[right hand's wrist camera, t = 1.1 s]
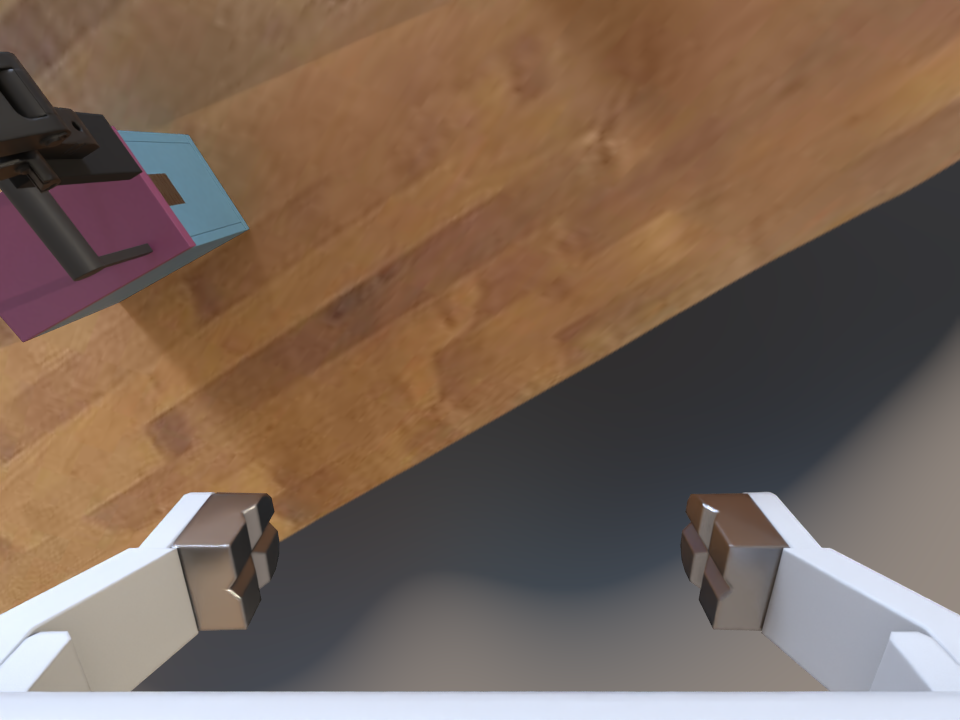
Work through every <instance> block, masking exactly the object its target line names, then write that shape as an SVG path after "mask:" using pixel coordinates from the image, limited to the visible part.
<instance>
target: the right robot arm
mask: <svg viewBox="0 0 960 720" xmlns="http://www.w3.org/2000/svg"><path fill="white" fill-rule="evenodd" d="M273 513H274V508H273V503H272V498H271V497H270V496H269V495H268V494H267V493H221V492H217V493H214V492H191V493H188V494H185V495H184V496H183V497H182V498H181V499H180V500H179V502H178V503H177V504H176V505H175V506H174V507H173V508H172V510H171V511H170V512H169V513H168V514H167V515H166V517H165V518H164V519H163V520H162V521H161V522H160V523H159V525H158V526H157V527H156V528H155V529H154V530H153V531H152V533H151V534H150V535H149V536H148V537H147V538H146V540H145V541H144V542H143V543H142V544H141V545H140V546H139V548H129V549H127V550H125V551H123V552H121V553H119V554H117V555H115V556H113V557H111V558H110V559H108V560H106V561H104V562H102V563H100V564H98V565H96V566H94V567H92V568H90V569H88V570H86V571H84V572H82V573H80V574H78V575H77V576H75V577H73V578H71V579H69V580H67V581H65V582H63V583H61V584H59V585H57V586H55V587H53V588H51V589H49V590H47V591H45V592H44V593H42V594H40V595H38V596H36V597H34V598H32V599H30V600H28V601H26V602H24V603H22V604H20V605H18V606H16V607H14V608H13V609H11V610H9V611H7V612H5V613H3V614H1V615H0V720H960V615H959V614H957V613H955V612H953V611H951V610H949V609H947V608H945V607H943V606H941V605H939V604H937V603H936V602H934V601H932V600H930V599H928V598H926V597H924V596H922V595H920V594H918V593H916V592H914V591H912V590H910V589H908V588H907V587H905V586H903V585H901V584H899V583H897V582H895V581H893V580H891V579H889V578H887V577H885V576H883V575H881V574H879V573H877V572H876V571H874V570H872V569H870V568H868V567H866V566H864V565H862V564H860V563H858V562H856V561H854V560H852V559H850V558H848V557H847V556H845V555H843V554H841V553H839V552H837V551H835V550H833V549H831V548H821V546H820V545H819V544H818V543H817V542H816V541H815V540H814V538H813V537H812V536H811V535H810V534H809V533H808V532H807V530H806V529H805V528H804V527H803V526H802V525H801V523H800V522H799V521H798V520H797V519H796V518H795V517H794V515H793V514H792V513H791V512H790V511H789V510H788V509H787V507H786V506H785V505H784V504H783V503H782V502H781V500H780V499H779V498H778V497H777V496H776V495H775V494H772V493H770V492H754V493H742V494H691V495H690V497H689V499H688V502H687V507H686V513H687V515H688V517H689V519H690V521H691V523H690V524H689V525H688V526H687V527H686V528H685V529H684V530H683V531H682V538H681V557H682V562H683V566H684V569H685V572H686V574H687V576H688V578H689V581H690V582H692V583H693V584H695V585H696V586H697V587H699V588H700V589H701V590H700V596H699V601H700V603H701V605H702V607H703V609H704V611H705V613H706V615H707V617H708V619H709V621H710V623H711V625H712V627H713V629H721V630H756V631H762V634H763V635H764V636H766V637H767V638H768V639H769V640H770V641H771V642H773V643H774V644H775V645H776V646H777V647H778V648H780V649H781V650H782V651H783V652H784V653H785V654H787V655H788V656H789V657H790V658H791V659H792V660H794V661H795V662H796V663H797V664H798V665H799V666H801V667H802V668H803V669H804V670H805V671H806V672H808V673H809V674H810V675H811V676H812V677H813V678H815V679H816V680H817V681H818V682H819V683H820V684H822V685H823V686H824V687H825V688H826V689H828V690H829V691H808V692H807V691H806V692H594V691H592V692H591V691H590V692H589V691H588V692H587V691H586V692H584V691H583V692H582V691H516V692H515V691H514V692H513V691H508V692H507V691H502V692H500V691H499V692H498V691H497V692H496V691H495V692H130V691H131V690H133V689H134V688H135V687H136V686H137V685H139V684H140V683H141V682H142V681H143V680H144V679H146V678H147V677H148V676H149V675H150V674H151V673H153V672H154V671H155V670H156V669H157V668H158V667H160V666H161V665H162V664H163V663H164V662H165V661H167V660H168V659H169V658H170V657H171V656H172V655H174V654H175V653H176V652H177V651H178V650H179V649H181V648H182V647H183V646H184V645H185V644H186V643H188V642H189V641H190V640H191V639H192V638H193V637H195V636H196V635H197V634H198V631H204V630H237V629H247V627H248V625H249V623H250V621H251V619H252V617H253V615H254V613H255V611H256V609H257V607H258V605H259V603H260V601H261V596H260V590H259V589H260V588H261V587H263V586H264V585H265V584H267V583H268V582H270V581H271V578H272V576H273V574H274V572H275V570H276V566H277V561H278V557H279V537H278V531H277V530H276V529H275V528H274V527H273V526H272V525H271V524H270V523H269V521H270V519H271V517H272V515H273Z"/></svg>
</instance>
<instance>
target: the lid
mask: <svg viewBox="0 0 960 720" xmlns="http://www.w3.org/2000/svg"><path fill="white" fill-rule="evenodd" d="M111 128H112V129H113V130H114V132H115V133H116V135H117V136H118V137H119V139H120V140H121V142H122V143H123V145H124V146H125V147H126V149H127V150H128V152H129V153H130V154H131V156H132V157H133V159H134V160H135V162H136V163H137V164H138V166H139V167H140V169H141V170H142V171H143V172H142V173H140V174H139V175H137V176H135V177H134V178H132V179H131V180H121V181H108V182H96V183H83V184H71V185H58V186H56V187H54V188H52V189H50V190H48V191H46V192H43V193H40V191H39V190H38V189H37V188H36V187H33V188H20V189H17V188H16V187H15V186H14V185H13V183H12V182H11V181H10V180H9V178H8V179H5V180H2V181H0V189H1V190H2V192H1V193H0V316H1V318H2V319H3V320H4V321H5V322H6V323H7V324H8V326H9V327H10V328H11V329H12V330H13V331H14V333H15V334H16V335H17V336H18V337H19V338H20V339H21V341H22V342H25V341H28V340H30V339H33V338H34V337H36V336H38V335H40V334H41V333H43V332H45V331H47V330H48V329H50V328H52V327H54V326H55V325H57V324H59V323H61V322H62V321H64V320H66V319H68V318H69V317H71V316H73V315H75V314H77V313H78V312H80V311H82V310H84V309H85V308H87V307H89V306H91V305H92V304H94V303H96V302H98V301H99V300H101V299H103V298H105V297H106V296H108V295H110V294H112V293H113V292H115V291H117V290H119V289H121V288H122V287H124V286H126V285H128V284H129V283H131V282H133V281H135V280H136V279H138V278H140V277H142V276H143V275H145V274H147V273H149V272H150V271H152V270H154V269H156V268H158V267H159V266H161V265H163V264H165V263H166V262H168V261H170V260H172V259H173V258H175V257H177V256H179V255H180V254H182V253H184V252H186V251H187V250H189V249H191V248H193V247H194V246H196V244H195V242H194V241H193V239H192V238H191V237H190V235H189V234H188V232H187V231H186V229H185V228H184V226H183V225H182V224H181V222H180V221H179V219H178V218H177V216H176V215H175V213H174V212H173V211H172V209H171V208H170V206H169V205H168V203H167V202H166V201H165V199H164V198H163V196H162V195H161V193H160V192H159V190H158V189H157V188H156V186H155V185H154V183H153V182H152V180H151V179H150V177H149V176H148V175H147V173H146V172H145V170H144V169H143V167H142V166H141V164H140V163H139V162H138V160H137V159H136V157H135V156H134V154H133V153H132V151H131V150H130V149H129V147H128V146H127V144H126V143H125V141H124V140H123V139H122V137H121V136H120V134H119V133H118V131H117V130H116V128H115V127H114V126H111Z"/></svg>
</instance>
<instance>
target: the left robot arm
mask: <svg viewBox="0 0 960 720" xmlns="http://www.w3.org/2000/svg"><path fill="white" fill-rule="evenodd" d="M142 172H143V171H142V170H141V169H140V167H139V166H138V164H137V163H136V162H135V160H134V159H133V157H132V156H131V154H130V153H129V152H128V150H127V149H126V147H125V146H124V145H123V143H122V142H121V140H120V139H119V137H118V136H117V135H116V133H115V132H114V130H113V129H112V128H111V126H110V125H109V123H108V122H107V120H106V119H105V118H104V116H103V115H100V114H90V113H80V112H74V111H72V110H71V109H67V108H57V107H53V106H52V105H51V103H50V102H49V101H48V99H47V98H46V97H45V95H44V94H43V93H42V91H41V90H40V88H39V87H38V86H37V84H36V83H35V82H34V80H33V79H32V78H31V76H30V75H29V73H28V72H27V71H26V70H25V68H24V67H23V66H22V64H21V63H20V61H19V60H18V59H17V57H16V56H15V55H14V54H13V53H10V52H0V181H2V180H5V179H8V178H9V180H10V181H11V182H12V183H13V185H14V186H15V187H16V188H17V189H20V188H33V187H36V188H37V189H38V190H39V191H40V193H43V192H46V191H48V190H50V189H52V188H54V187H56V186H58V185H71V184H83V183H96V182H108V181H121V180H131V179H132V178H134V177H135V176H137V175H139V174H140V173H142Z"/></svg>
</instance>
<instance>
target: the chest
mask: <svg viewBox="0 0 960 720" xmlns="http://www.w3.org/2000/svg"><path fill="white" fill-rule="evenodd" d="M117 131H118V133H119V134H120V136H121V137H122V139H123V140H124V141H125V143H126V144H127V146H128V147H129V149H130V150H131V151H132V153H133V154H134V156H135V157H136V159H137V160H138V162H139V163H140V164H141V166H142V167H143V169H144V170H145V172H146V173H147V175H148V176H149V177H150V179H151V180H152V182H153V183H154V185H155V186H156V188H157V189H158V190H159V192H160V193H161V195H162V196H163V198H164V199H165V201H166V202H167V203H168V205H169V206H170V208H171V209H172V211H173V212H174V213H175V215H176V216H177V218H178V219H179V221H180V222H181V224H182V225H183V226H184V228H185V229H186V231H187V232H188V234H189V235H190V237H191V238H192V239H193V241H194V242H195V244H196V246H194V247H193V248H191V249H189V250H187V251H186V252H184V253H182V254H180V255H179V256H177V257H175V258H173V259H172V260H170V261H168V262H166V263H165V264H163V265H161V266H159V267H158V268H156V269H154V270H152V271H150V272H149V273H147V274H145V275H143V276H142V277H140V278H138V279H136V280H135V281H133V282H131V283H129V284H128V285H126V286H124V287H122V288H121V289H119V290H117V291H115V292H113V293H112V294H110V295H108V296H106V297H105V298H103V299H101V300H99V301H98V302H96V303H94V304H92V305H91V306H89V307H87V308H85V309H84V310H82V311H80V312H78V313H77V314H75V315H73V316H71V317H69V318H68V319H66V320H64V321H62V322H61V323H59V324H57V325H55V326H54V327H52V328H50V329H48V330H47V331H45V332H43V333H41V334H40V335H42V334H45V333H47V332H49V331H52V330H54V329H57V328H59V327H61V326H64V325H66V324H69V323H71V322H73V321H76V320H78V319H81V318H83V317H85V316H88V315H90V314H93V313H95V312H97V311H100V310H102V309H105V308H107V307H109V306H112V305H114V304H117V303H119V302H121V301H122V300H124V299H126V298H128V297H130V296H131V295H133V294H135V293H137V292H138V291H140V290H142V289H144V288H146V287H147V286H149V285H151V284H153V283H154V282H156V281H158V280H160V279H162V278H163V277H165V276H167V275H169V274H170V273H172V272H174V271H176V270H178V269H179V268H181V267H183V266H185V265H186V264H188V263H190V262H192V261H193V260H195V259H197V258H199V257H201V256H202V255H204V254H206V253H208V252H209V251H211V250H213V249H215V248H217V247H218V246H220V245H222V244H224V243H225V242H227V241H229V240H231V239H233V238H234V237H236V236H238V235H240V234H241V233H243V232H245V231H247V230H249V227H248V226H247V224H246V222H245V221H244V219H243V218H242V216H241V215H240V213H239V212H238V210H237V209H236V207H235V206H234V204H233V203H232V201H231V199H230V198H229V196H228V195H227V193H226V192H225V190H224V189H223V187H222V186H221V184H220V183H219V181H218V179H217V178H216V176H215V175H214V173H213V172H212V170H211V169H210V167H209V166H208V164H207V163H206V161H205V159H204V158H203V156H202V155H201V153H200V152H199V150H198V149H197V147H196V146H195V144H194V143H193V141H192V139H191V138H190V136H189V135H184V134H168V133H152V132H135V131H119V130H117ZM40 335H38V336H40ZM36 337H37V336H36ZM34 338H35V337H34Z"/></svg>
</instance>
